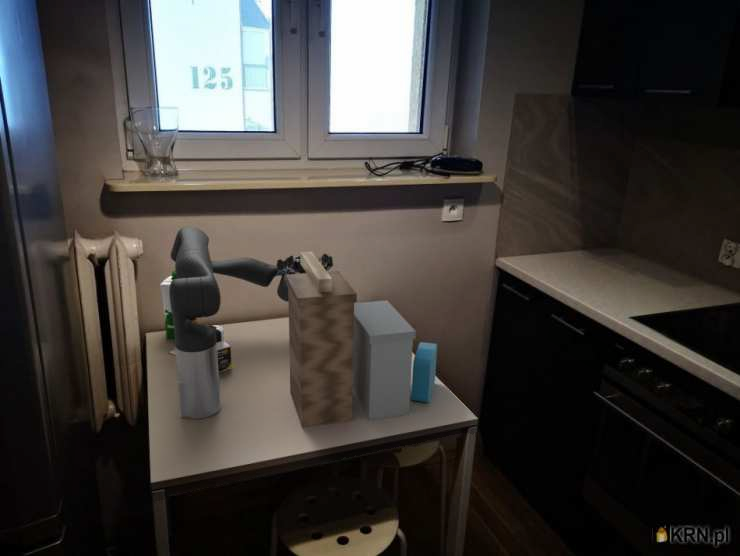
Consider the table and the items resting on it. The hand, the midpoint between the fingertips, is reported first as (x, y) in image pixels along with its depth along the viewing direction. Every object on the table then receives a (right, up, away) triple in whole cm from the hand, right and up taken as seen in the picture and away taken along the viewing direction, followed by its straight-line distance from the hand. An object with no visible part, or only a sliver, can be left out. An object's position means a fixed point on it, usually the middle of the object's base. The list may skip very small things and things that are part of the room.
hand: (308, 258), depth 140 cm
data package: (+29, -35, +7) cm, 46 cm away
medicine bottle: (-28, -30, +16) cm, 44 cm away
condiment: (-38, -27, +25) cm, 53 cm away
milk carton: (-44, -23, +36) cm, 62 cm away
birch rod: (+2, -4, -7) cm, 8 cm away
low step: (+17, -35, +4) cm, 39 cm away
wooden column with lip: (+3, -36, -1) cm, 37 cm away
